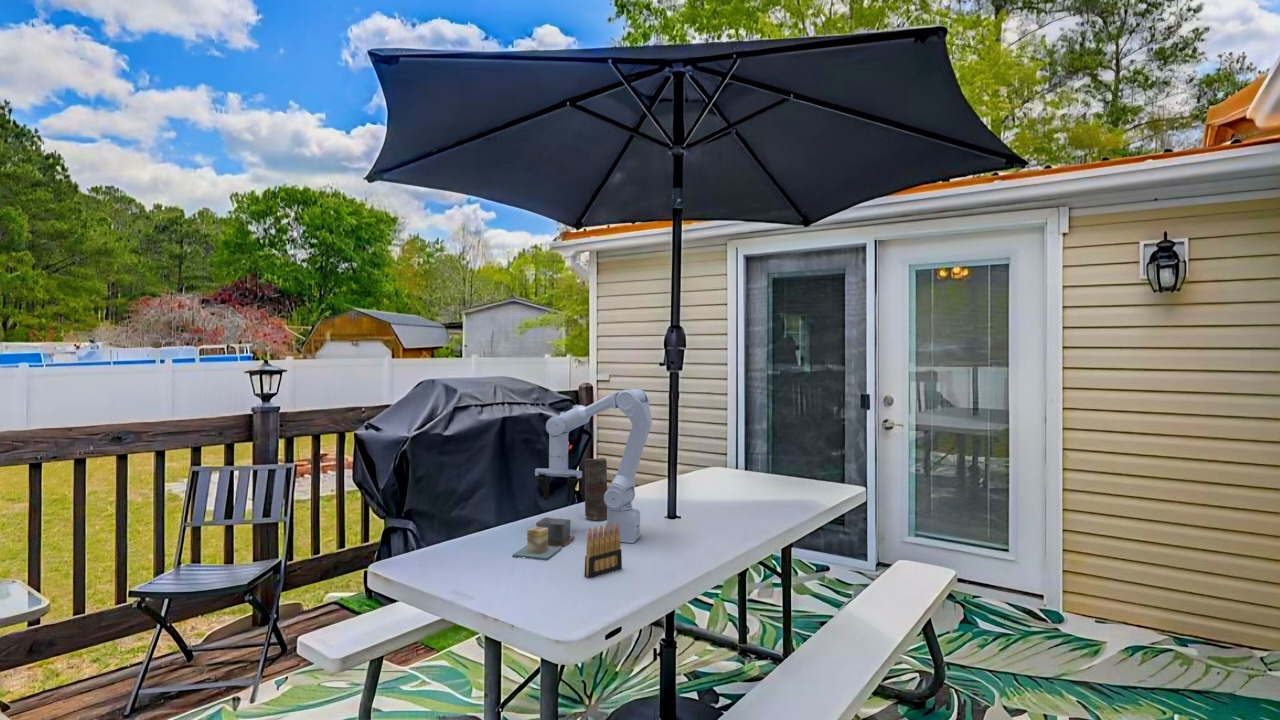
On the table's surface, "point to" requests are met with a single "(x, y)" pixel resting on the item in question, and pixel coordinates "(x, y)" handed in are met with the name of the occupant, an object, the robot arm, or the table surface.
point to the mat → (544, 555)
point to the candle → (595, 488)
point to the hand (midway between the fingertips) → (558, 500)
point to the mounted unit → (557, 531)
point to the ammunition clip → (603, 551)
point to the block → (537, 540)
